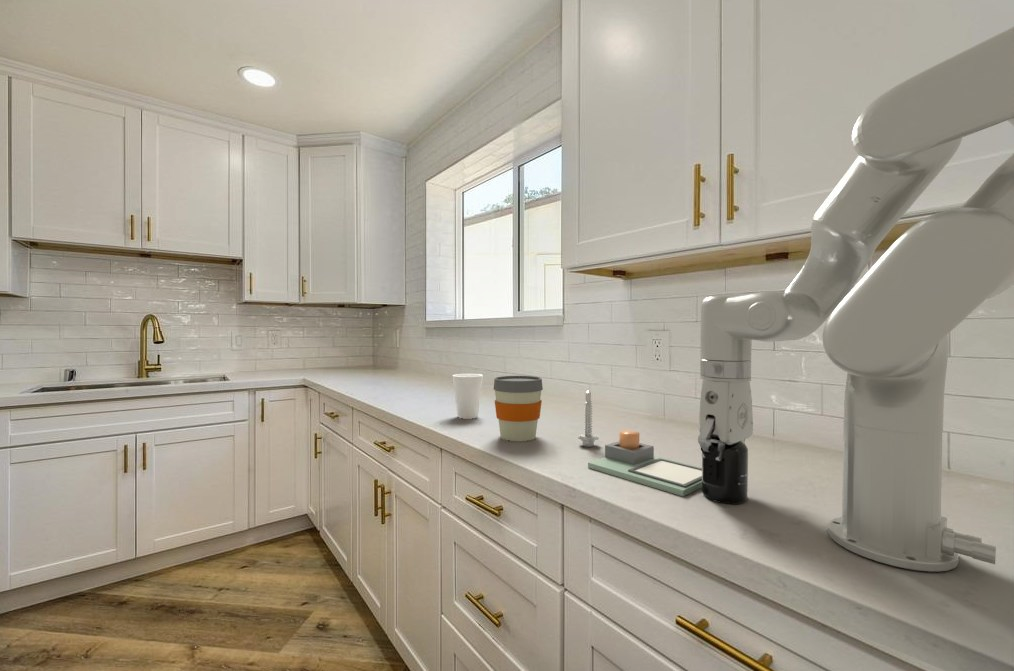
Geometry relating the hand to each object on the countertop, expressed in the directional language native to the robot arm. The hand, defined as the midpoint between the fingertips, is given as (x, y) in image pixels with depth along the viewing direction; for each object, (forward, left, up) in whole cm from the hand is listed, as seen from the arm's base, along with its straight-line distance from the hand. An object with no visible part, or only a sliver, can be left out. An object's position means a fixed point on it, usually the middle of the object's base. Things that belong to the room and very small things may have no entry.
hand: (724, 477), depth 74 cm
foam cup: (+81, -6, -3) cm, 81 cm away
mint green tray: (+14, -2, -3) cm, 15 cm away
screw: (+35, -8, -3) cm, 36 cm away
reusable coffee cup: (+52, -1, -3) cm, 52 cm away
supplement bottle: (0, 0, -3) cm, 3 cm away
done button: (+21, -4, -1) cm, 21 cm away
